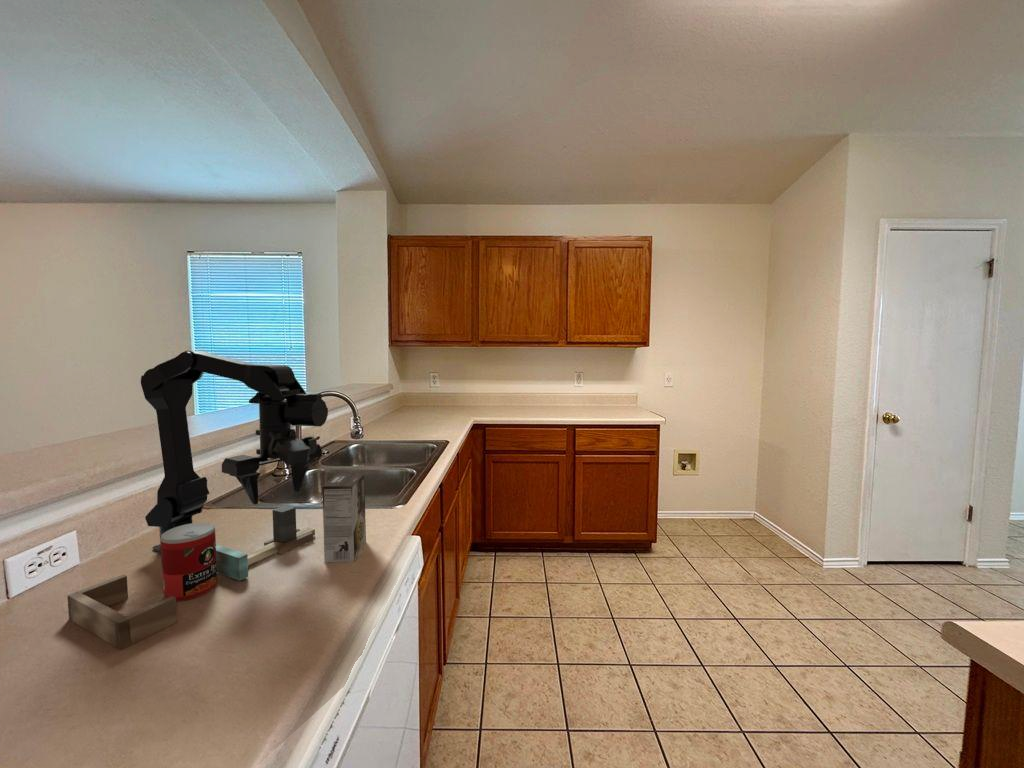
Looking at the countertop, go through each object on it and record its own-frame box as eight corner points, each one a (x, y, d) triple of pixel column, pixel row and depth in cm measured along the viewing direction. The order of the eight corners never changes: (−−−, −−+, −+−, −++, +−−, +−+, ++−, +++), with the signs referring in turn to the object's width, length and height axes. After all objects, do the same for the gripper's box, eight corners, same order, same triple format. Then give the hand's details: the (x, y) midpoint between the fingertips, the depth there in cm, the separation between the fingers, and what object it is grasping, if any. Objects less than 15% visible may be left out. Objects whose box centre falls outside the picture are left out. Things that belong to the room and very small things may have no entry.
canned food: (189, 604, 70) (185, 541, 69) (151, 599, 71) (147, 537, 71) (228, 580, 77) (226, 523, 77) (193, 576, 79) (190, 520, 78)
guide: (264, 550, 89) (264, 542, 89) (297, 536, 97) (297, 528, 97) (281, 555, 87) (280, 547, 87) (313, 540, 94) (313, 532, 94)
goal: (68, 619, 66) (67, 595, 66) (124, 596, 72) (123, 574, 72) (120, 650, 59) (119, 623, 59) (177, 621, 65) (175, 597, 65)
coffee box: (337, 543, 93) (336, 473, 92) (367, 542, 94) (365, 472, 93) (322, 563, 84) (320, 485, 83) (355, 561, 85) (353, 485, 84)
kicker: (204, 568, 81) (202, 526, 81) (295, 529, 99) (294, 495, 99) (239, 580, 77) (237, 537, 76) (328, 538, 95) (327, 502, 94)
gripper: (253, 435, 75) (256, 519, 76) (338, 422, 91) (339, 491, 92) (218, 430, 80) (221, 508, 81) (305, 418, 96) (306, 483, 97)
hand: (277, 497), depth 87 cm, fingers open, 9 cm apart
